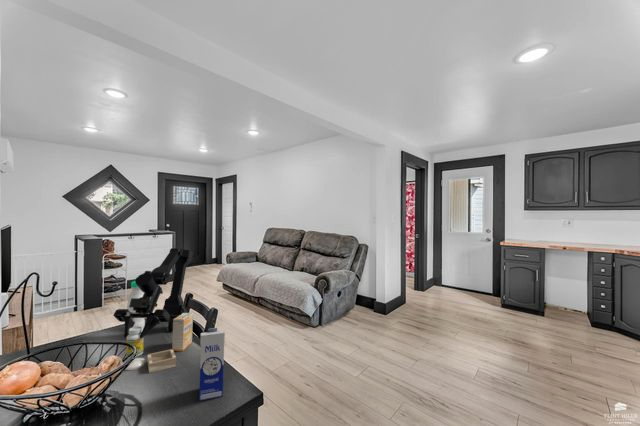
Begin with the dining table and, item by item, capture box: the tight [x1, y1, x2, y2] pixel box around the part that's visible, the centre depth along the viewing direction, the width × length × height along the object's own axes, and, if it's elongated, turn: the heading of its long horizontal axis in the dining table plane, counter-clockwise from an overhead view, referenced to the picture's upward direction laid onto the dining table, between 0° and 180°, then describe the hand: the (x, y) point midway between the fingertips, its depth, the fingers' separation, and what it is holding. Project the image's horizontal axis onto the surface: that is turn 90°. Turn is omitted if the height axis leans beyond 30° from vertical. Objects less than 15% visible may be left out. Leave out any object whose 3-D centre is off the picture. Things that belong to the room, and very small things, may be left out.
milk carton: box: [198, 327, 226, 402], centre depth 91 cm, size 7×7×20 cm
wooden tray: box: [146, 348, 177, 374], centre depth 106 cm, size 8×8×3 cm
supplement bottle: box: [125, 327, 145, 358], centre depth 105 cm, size 5×5×10 cm
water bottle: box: [126, 280, 146, 332], centre depth 129 cm, size 7×7×25 cm
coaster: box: [124, 357, 146, 371], centre depth 105 cm, size 7×7×1 cm
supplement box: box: [171, 312, 194, 352], centre depth 121 cm, size 8×5×13 cm, turn 179°
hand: (132, 338), depth 104 cm, fingers closed on supplement bottle, 5 cm apart
